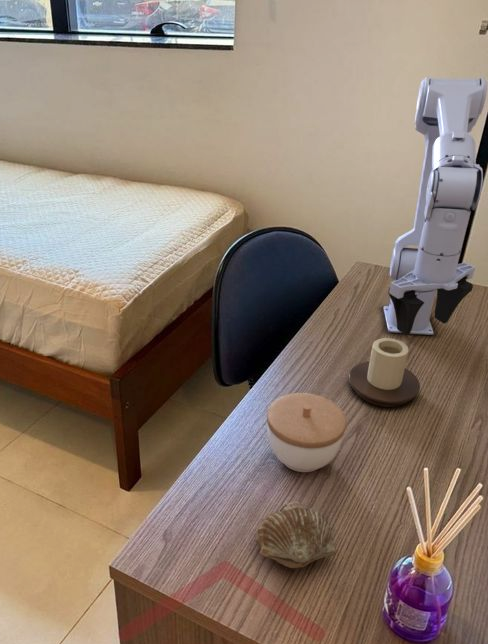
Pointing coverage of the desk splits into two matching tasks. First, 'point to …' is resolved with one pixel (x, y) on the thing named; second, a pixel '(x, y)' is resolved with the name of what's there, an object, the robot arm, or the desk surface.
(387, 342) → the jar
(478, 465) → the desk surface
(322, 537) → the seashell
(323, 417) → the trinket box
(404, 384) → the stand
